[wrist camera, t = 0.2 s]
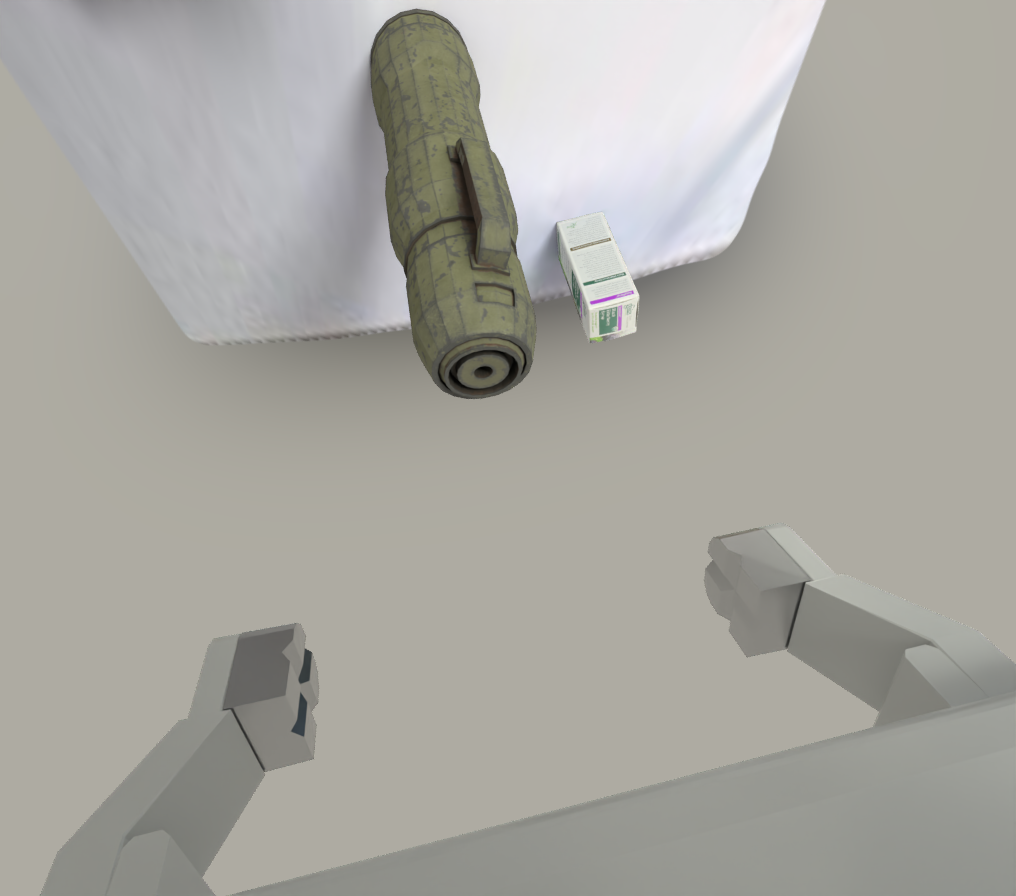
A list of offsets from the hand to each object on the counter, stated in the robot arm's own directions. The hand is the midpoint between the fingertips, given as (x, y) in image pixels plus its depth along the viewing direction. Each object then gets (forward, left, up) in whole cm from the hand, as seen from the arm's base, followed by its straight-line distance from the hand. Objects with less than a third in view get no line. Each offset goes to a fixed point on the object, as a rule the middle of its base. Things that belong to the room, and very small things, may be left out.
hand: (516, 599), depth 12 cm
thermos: (+15, -5, -53) cm, 56 cm away
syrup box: (+41, +1, -53) cm, 67 cm away
